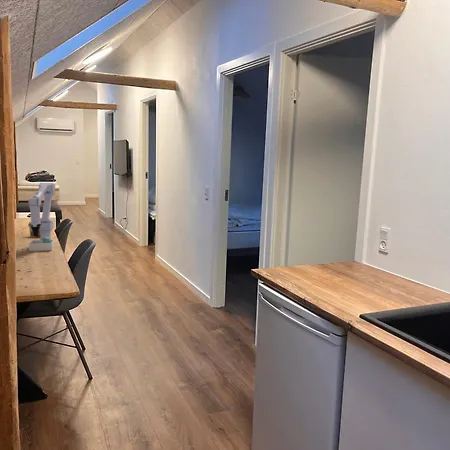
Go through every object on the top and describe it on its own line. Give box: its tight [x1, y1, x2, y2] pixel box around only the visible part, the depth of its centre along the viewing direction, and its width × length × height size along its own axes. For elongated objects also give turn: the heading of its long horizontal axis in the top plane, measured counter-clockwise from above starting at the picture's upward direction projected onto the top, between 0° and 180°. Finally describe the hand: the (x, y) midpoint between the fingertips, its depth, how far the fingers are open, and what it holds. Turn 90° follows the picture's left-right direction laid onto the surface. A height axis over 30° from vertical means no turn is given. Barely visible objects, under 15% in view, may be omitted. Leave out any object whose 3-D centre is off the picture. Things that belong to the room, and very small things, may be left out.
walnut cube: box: [31, 230, 41, 240], centre depth 298 cm, size 5×5×5 cm
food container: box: [27, 223, 33, 237], centre depth 346 cm, size 12×6×10 cm, turn 84°
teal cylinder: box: [42, 237, 51, 243], centre depth 301 cm, size 5×5×7 cm
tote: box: [28, 239, 55, 252], centre depth 300 cm, size 12×14×5 cm
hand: (36, 235), depth 298 cm, fingers closed on walnut cube, 5 cm apart
